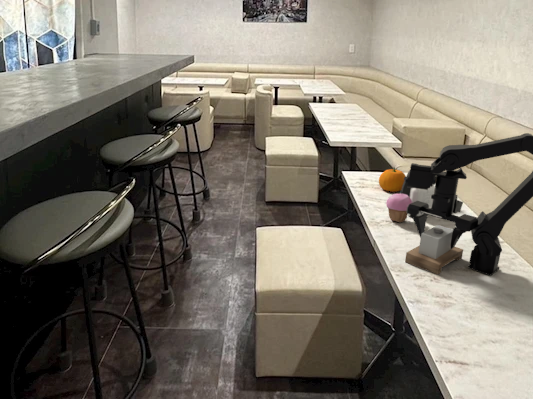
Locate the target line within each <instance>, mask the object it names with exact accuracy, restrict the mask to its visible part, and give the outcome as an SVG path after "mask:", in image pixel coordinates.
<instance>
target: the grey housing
mask: <svg viewBox="0 0 533 399" xmlns="http://www.w3.org/2000/svg"><path fill="white" fill-rule="evenodd" d="M453 229H454V228H449V227H446V226H443V225H440V224H436V225H435V226H433V227H431V228H429V229H427V230H425V232H423V233H421V238H420V240H419V245H420V246H419V245H418V246H419V252H418V253H420V254H423V255H426V256H429V257H431V258H434V259H436V258H438V257H440V256H441V255H443V254H444V253H446V252H448V251H449V250H451V239H452V233H453Z"/></svg>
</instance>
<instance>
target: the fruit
mask: <svg viewBox="0 0 533 399" xmlns="http://www.w3.org/2000/svg"><path fill="white" fill-rule="evenodd" d="M406 176H407V175H405V173H404V172H403V171H402V170H399V169H396V168H395V166H393V169H392V168H390V169H385V170H384V171H383V172H382V173H381V174H380V175H379V176H378V177H379V178H378V184H379V187H380V188H381V189H382V190H384V191H386V192H389V191H390V193H398V192H399V193H400V190H402V186H403V183H404V181H405V180H404V178H405V177H406Z"/></svg>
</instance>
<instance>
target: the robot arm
mask: <svg viewBox="0 0 533 399" xmlns="http://www.w3.org/2000/svg"><path fill="white" fill-rule="evenodd" d="M521 152H528V153H529V154H531V155H532V156H533V134H532V133H529V132H527V133H526V132H524V133H522V134H521V135H516V136H511V137H505V138H501V139H500V138H499V139H496V140H491V141H487V142H482V143H478V144H452V145H451V144H450V145H446V146H444V147H442V148H441V151H440V153H439V156H438V157H437V158H436V159H435V160H434V161H432V163H431V164H430V165H425V164H419V163H411V164H410V167H411V168H410V169H409V170H410V173H409V177H408V184H407V187H409V188H417V189H425V190H428V188H430V187H432V186H433V180H434V176H437V177H436V183H435V185H434V186H435V189H434V194H433V195H432V196H431V199H433V202H432V208H429V205H428V204H427V203H424V202H420V201H416V202H413V203H411V204H409V205H408V207H407V211H406V213H408V214H411V215H410V216H409V217H410V218H412V220H413V222H414V224H415V226H416V228H417V232H418V235H419V237H420V239H421V233H423V232H425V231H426V222H427V219H428V216H431V217H436V218H438V219H441V220H445V221H448V222H452V223H454V226H455V227H454V228H452V229H453V233H452V239H451V249H453V248H454V247H456V244H458V241H459V240H460V238H461V237H462V235H463V234H464V233H467V232H471V233H470V234H471V238H472V241H473V243H474V244H475V245H474V246H473V249H472V250H471V251H470V256H469V262H468V263H469V265H468V266H467V268H468V269H470V270H474V271H477V272H479V273H482V274H485V275H488V276H492V275H494V274H495V273H496V272H497V271H499V270H500V266H499V262H500V257H501V254H502V251H503V249H502V246H501V242H500V239H499V236H500V235H501V233H502V231H503V229H504V227H505V225H506V224H507V222H508V221H510V220H511V219H512V218H513V217H514V215H516V214H517V213H518V212H519V210H521V209H522V208H523V207H524V206H525V205H526V204H527V203H528V202H529V201H530V200H531V199H532V198H533V170H532V171H531V173H530V174H529V175H528V176H527V177H526V178H525V179H524V180H523V181H522V182H521V183H520V184H519V185H517V187H516V188H515V189H514V190H512V191H511V193H510V194H509V195H508V196H507V197H505V199H504V200H502V202H501V203H500V204H498V206H496V208H495V209H494V210H492V211H490V212H489V213H485V212H484V211H481V212H480V213H479V215H477V216H474V215H473V216H472V215H469V214H466V213H464V214H461V215H459V216H458V215H455V214H457V213H461V211H462V207H463V204H464V201H461V200H458V194H457V192H458V185H459V184H458V183H459V180H460V179H461V180H467V178H468V177H467V173H465V171H464V170H463V168H464V167H466V166H468V165H470V164H472V163H475V162H477V161H481V160H486V159H491V158H497V157H501V156H507V155H511V154H517V153H521ZM408 214H407V215H408Z"/></svg>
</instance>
